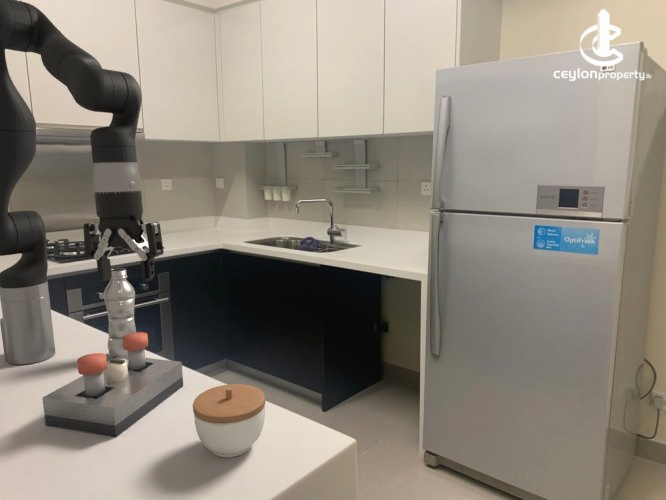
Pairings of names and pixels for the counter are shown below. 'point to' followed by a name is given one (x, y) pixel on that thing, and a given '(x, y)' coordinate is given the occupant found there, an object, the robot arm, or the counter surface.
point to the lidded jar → (229, 418)
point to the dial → (116, 370)
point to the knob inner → (136, 349)
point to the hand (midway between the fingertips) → (126, 280)
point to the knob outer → (93, 372)
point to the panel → (113, 399)
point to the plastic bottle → (119, 311)
